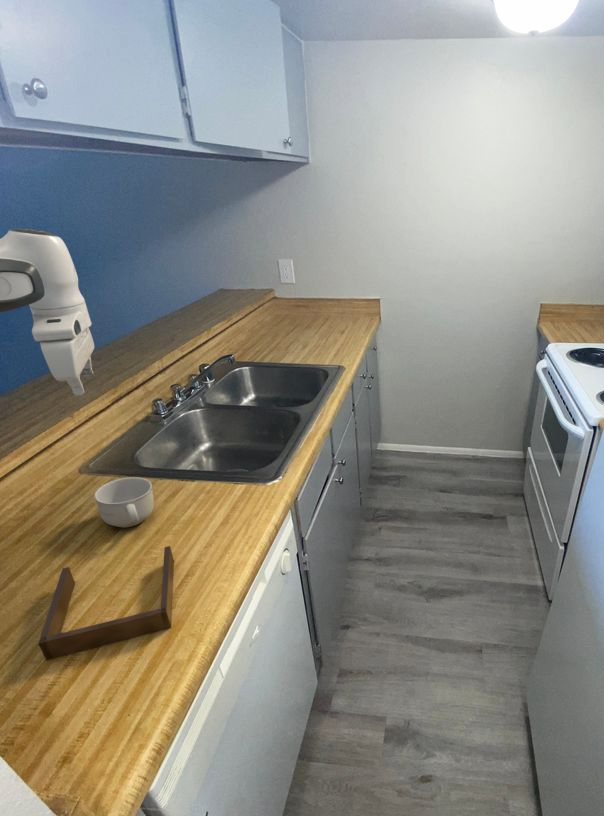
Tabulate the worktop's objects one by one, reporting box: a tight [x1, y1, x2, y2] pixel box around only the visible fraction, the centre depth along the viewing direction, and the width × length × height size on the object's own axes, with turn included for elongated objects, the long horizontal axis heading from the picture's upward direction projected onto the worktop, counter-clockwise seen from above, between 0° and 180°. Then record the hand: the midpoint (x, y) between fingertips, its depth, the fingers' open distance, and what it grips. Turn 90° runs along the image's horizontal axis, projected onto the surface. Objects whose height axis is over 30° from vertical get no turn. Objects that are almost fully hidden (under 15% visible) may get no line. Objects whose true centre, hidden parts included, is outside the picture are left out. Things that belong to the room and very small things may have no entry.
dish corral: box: [37, 545, 175, 661], centre depth 84 cm, size 18×17×4 cm
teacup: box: [93, 476, 155, 528], centre depth 103 cm, size 14×11×8 cm
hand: (84, 385), depth 98 cm, fingers open, 8 cm apart
